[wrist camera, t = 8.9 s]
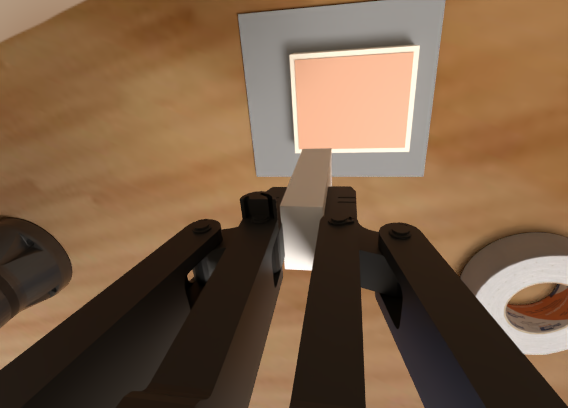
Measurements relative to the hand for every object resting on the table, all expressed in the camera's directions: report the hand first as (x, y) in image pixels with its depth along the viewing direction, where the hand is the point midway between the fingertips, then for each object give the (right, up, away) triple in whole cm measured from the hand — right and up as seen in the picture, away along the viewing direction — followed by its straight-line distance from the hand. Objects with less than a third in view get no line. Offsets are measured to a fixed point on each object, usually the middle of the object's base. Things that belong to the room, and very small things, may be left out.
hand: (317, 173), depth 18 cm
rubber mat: (+4, +10, +19) cm, 22 cm away
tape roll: (+29, -12, +26) cm, 41 cm away
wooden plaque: (-1, +9, +18) cm, 20 cm away
